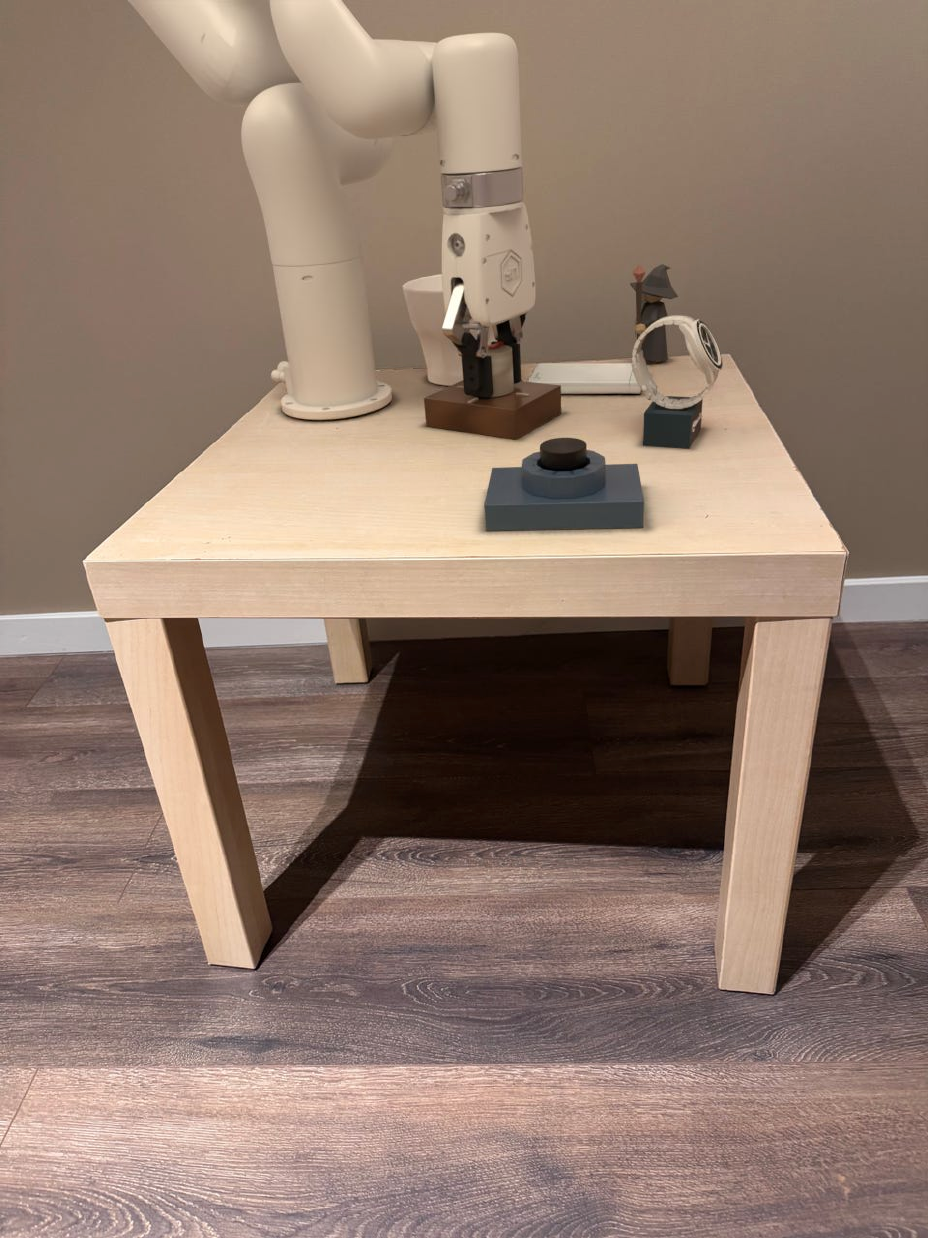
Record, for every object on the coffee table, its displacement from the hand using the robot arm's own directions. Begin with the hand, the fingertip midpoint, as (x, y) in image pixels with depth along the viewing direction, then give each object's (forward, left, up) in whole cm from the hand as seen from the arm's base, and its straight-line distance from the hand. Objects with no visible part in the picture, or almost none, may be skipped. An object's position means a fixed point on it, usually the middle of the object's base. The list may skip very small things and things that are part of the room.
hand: (493, 386), depth 92 cm
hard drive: (+3, +15, -4) cm, 16 cm away
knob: (0, 0, 0) cm, 0 cm away
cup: (-13, +13, -4) cm, 19 cm away
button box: (+18, -18, -4) cm, 25 cm away
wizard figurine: (+6, +26, -4) cm, 27 cm away
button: (+18, -17, 0) cm, 25 cm away
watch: (+19, +2, -4) cm, 19 cm away
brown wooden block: (0, 0, -3) cm, 3 cm away
